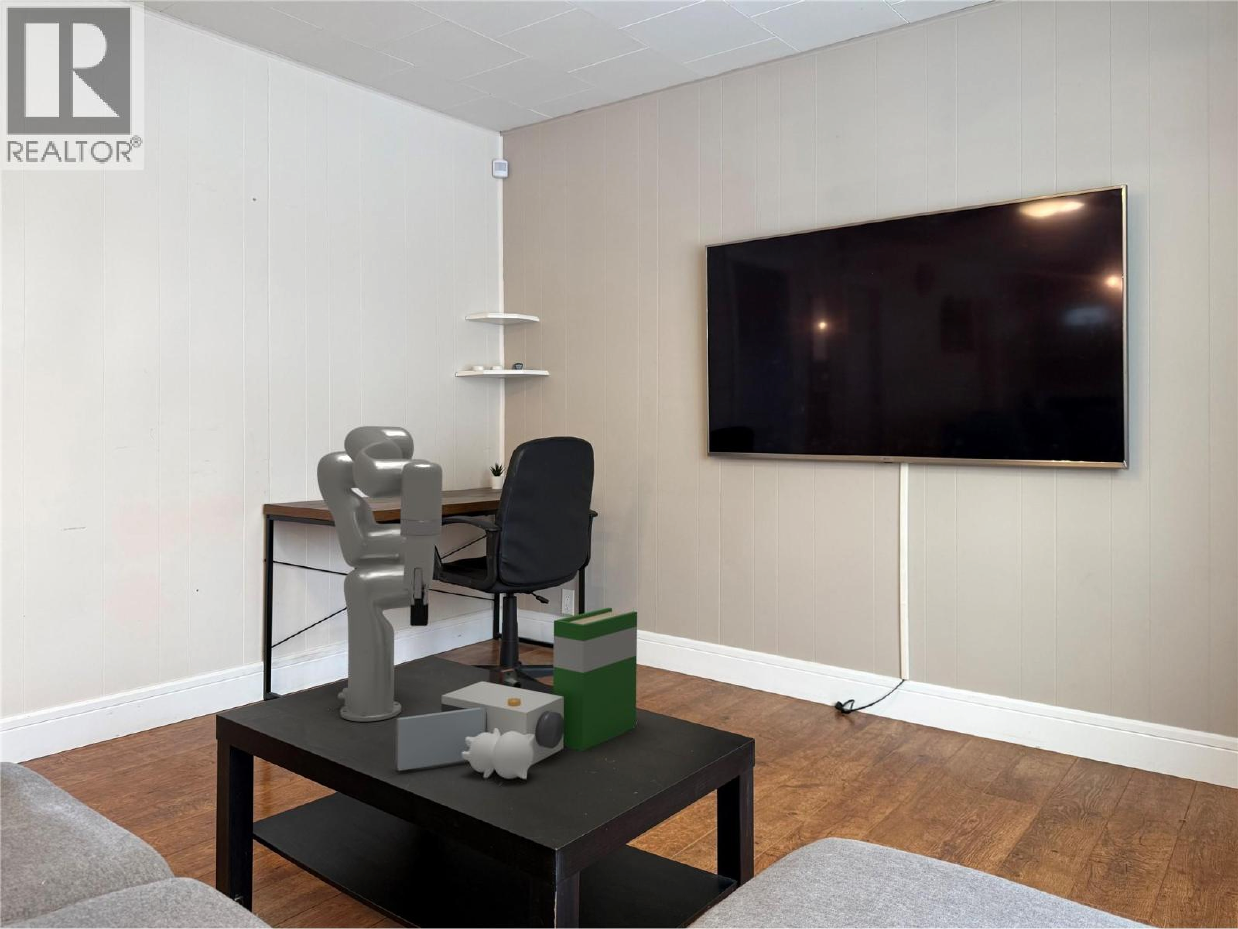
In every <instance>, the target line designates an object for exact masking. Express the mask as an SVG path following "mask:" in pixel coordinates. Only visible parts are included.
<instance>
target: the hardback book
mask: <svg viewBox="0 0 1238 929" xmlns="http://www.w3.org/2000/svg"><path fill="white" fill-rule="evenodd" d="M637 637H638V611H631V612H626V613H619V612H613V608H612V607H605V608H602V609H596V610H592V611H589V612H584V613H581V614H577V615H573V616H572V615H571V616H568V617H563V618H560V619H559V618H558V619H554V620H553V667H552V668H553V671H552V673H553V676H552V678H553V679H552V681H553V682H552V683H553V684H552V685H553V686H552V691H553V692H552V695H557V696H563V697H564V731H563V747H565V746H566V747H565V748H569V749H572V750H573V749H574V750H576V749H577V750H576V751H581V752H584V751H586V750H588V748H589V749H591V748H593V747H596V746H598V745H600V744H602V743H604V741H605V740H607V739H609V740H611V739H613V738H612V737H614V736H616V737H617V736H620V735H622V734H621V733H623V732H625V733H627V732H629V731H628V730H629V729H632V728H633V727H635V726H636V727H637V724H636V723H637V667H638V666H637V662H638V661H637V658H638V656H637V655H638V654H637V653H638V651H637V650H638V648H637V646H638V638H637ZM632 730H633V729H632ZM626 731H627V732H626ZM619 734H620V735H619ZM623 734H624V733H623ZM610 738H611V739H610ZM614 738H615V737H614ZM607 741H608V740H607ZM605 742H606V741H605ZM599 743H600V744H599ZM597 744H598V745H597ZM592 746H593V747H592ZM590 747H591V748H590ZM585 749H586V750H585Z"/></svg>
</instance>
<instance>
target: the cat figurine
mask: <svg viewBox="0 0 1238 929" xmlns="http://www.w3.org/2000/svg"><path fill="white" fill-rule="evenodd" d="M534 738H535V735H534V734H527V735H522V734H521V733H519V732H515V731H510V732H506V733H504V734H503V735H501V736H500V732H499V730H498V729H497V728H495V729H494V732H493V734H491V733H487V732H484V733H481V734H479V735H477V736H476V737H466V739H465V743H466V744H467V745H468V746H469V747H470V748H469V751H464V752H462V758H464V759H466V760H465V761H468V762H469V763H470V766H471V767H472V768H473V769H474V770H475V771H476V772H478V773H483V778H484V779H488V778H489V777H490V776H491V775H492V774H493V772H494V771H496V773H497V775H499V776H500V777H502V778H504V779H508V780H510V779H515V778H520V779H523V780H527V777H528V770H529V768H530V767H531V766H532V765H531V763H532V760H533V748H532V745H533V741H534ZM530 765H531V766H530Z"/></svg>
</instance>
